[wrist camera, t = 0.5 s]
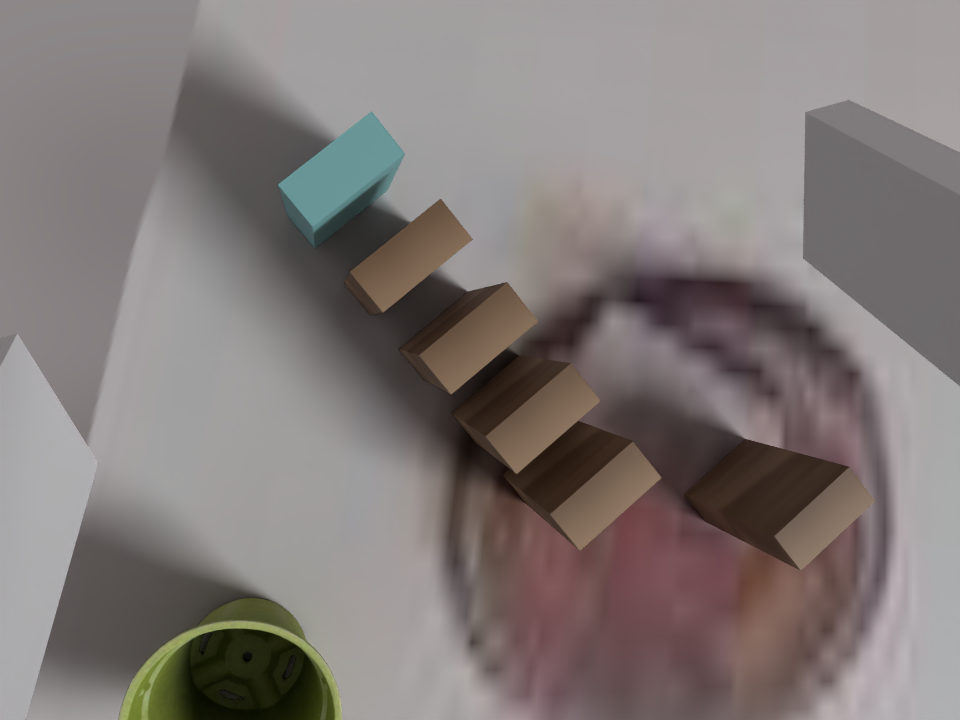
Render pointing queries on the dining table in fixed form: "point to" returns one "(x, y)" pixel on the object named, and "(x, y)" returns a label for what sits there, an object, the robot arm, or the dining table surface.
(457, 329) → the domino
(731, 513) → the domino
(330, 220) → the domino
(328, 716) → the plant pot
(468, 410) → the domino
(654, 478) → the domino
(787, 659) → the dining table surface
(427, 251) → the domino
